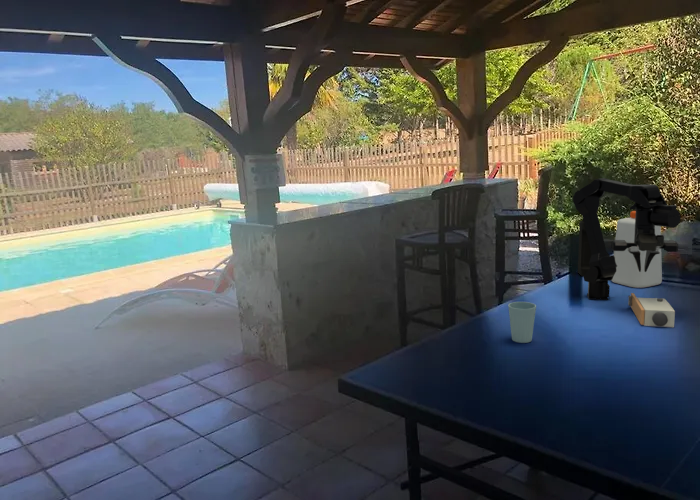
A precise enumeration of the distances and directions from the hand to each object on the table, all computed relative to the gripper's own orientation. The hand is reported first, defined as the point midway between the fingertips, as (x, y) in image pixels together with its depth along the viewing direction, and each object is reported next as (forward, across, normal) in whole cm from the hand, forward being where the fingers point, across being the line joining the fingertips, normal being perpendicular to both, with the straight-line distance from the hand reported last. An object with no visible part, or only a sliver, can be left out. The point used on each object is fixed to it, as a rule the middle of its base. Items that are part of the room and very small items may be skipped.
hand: (642, 271), depth 186 cm
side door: (+13, -3, -7) cm, 15 cm away
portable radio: (+13, -12, +50) cm, 53 cm away
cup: (+13, -37, -36) cm, 53 cm away
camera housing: (+13, +2, -10) cm, 17 cm away
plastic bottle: (+13, +4, +38) cm, 40 cm away
